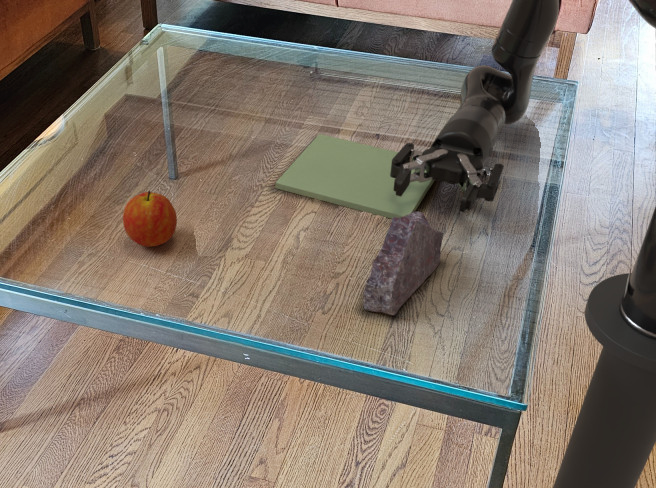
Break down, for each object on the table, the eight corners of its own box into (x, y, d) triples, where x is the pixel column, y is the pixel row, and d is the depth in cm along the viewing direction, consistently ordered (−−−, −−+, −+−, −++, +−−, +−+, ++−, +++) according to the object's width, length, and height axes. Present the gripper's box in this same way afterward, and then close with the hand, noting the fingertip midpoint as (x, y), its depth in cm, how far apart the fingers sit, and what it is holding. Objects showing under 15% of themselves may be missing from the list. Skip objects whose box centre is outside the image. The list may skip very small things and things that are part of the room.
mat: (442, 168, 125) (443, 162, 125) (407, 223, 114) (408, 217, 114) (319, 139, 132) (319, 133, 132) (275, 188, 121) (275, 182, 121)
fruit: (115, 243, 111) (107, 192, 106) (152, 220, 115) (147, 170, 110) (151, 264, 108) (146, 212, 102) (189, 239, 112) (185, 188, 106)
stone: (414, 177, 104) (358, 233, 94) (461, 194, 102) (407, 253, 92) (400, 244, 111) (345, 303, 101) (443, 262, 109) (391, 324, 99)
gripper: (420, 107, 119) (380, 160, 108) (520, 129, 114) (490, 186, 103) (414, 154, 124) (375, 208, 113) (510, 176, 119) (479, 236, 108)
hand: (430, 198), depth 108 cm, fingers open, 8 cm apart
